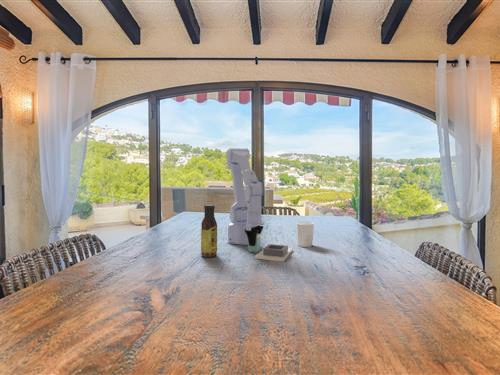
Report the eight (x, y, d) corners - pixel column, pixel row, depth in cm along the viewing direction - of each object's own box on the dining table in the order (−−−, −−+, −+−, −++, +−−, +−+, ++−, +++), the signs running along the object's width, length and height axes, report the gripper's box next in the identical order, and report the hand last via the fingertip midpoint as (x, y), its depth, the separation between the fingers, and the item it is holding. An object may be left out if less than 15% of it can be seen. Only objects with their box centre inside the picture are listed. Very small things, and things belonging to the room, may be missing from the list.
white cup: (312, 243, 140) (313, 221, 139) (314, 247, 132) (314, 225, 132) (295, 242, 141) (295, 221, 140) (296, 247, 133) (296, 224, 132)
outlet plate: (255, 258, 116) (255, 249, 116) (267, 248, 131) (267, 240, 131) (283, 261, 112) (283, 252, 112) (292, 250, 127) (292, 242, 127)
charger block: (247, 251, 126) (247, 234, 125) (251, 249, 129) (251, 232, 129) (256, 252, 124) (257, 235, 124) (260, 250, 128) (260, 233, 128)
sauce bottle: (214, 258, 116) (214, 206, 114) (198, 257, 117) (198, 205, 116) (219, 253, 122) (219, 204, 121) (204, 252, 123) (204, 203, 122)
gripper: (257, 215, 118) (257, 249, 118) (268, 210, 131) (268, 241, 132) (240, 214, 120) (240, 248, 121) (253, 209, 134) (252, 240, 135)
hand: (254, 244), depth 127 cm, fingers closed on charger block, 4 cm apart
